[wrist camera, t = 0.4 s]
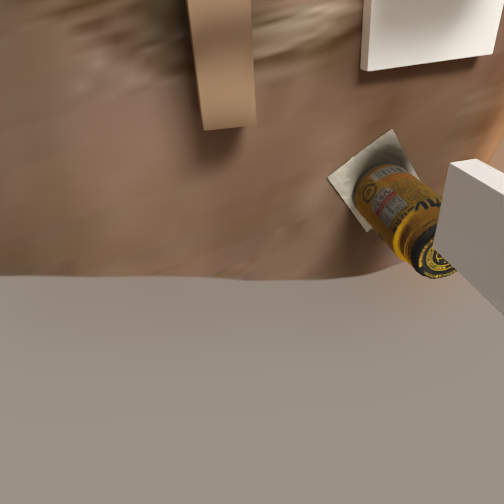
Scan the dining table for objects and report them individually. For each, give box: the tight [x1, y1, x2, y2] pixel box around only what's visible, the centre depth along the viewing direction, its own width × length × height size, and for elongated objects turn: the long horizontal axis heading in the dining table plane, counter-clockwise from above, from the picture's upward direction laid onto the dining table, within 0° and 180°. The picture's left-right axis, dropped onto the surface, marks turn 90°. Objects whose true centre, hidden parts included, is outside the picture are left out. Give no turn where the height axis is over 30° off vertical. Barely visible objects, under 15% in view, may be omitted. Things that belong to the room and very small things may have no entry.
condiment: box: [327, 129, 457, 279], centre depth 34 cm, size 7×8×12 cm
